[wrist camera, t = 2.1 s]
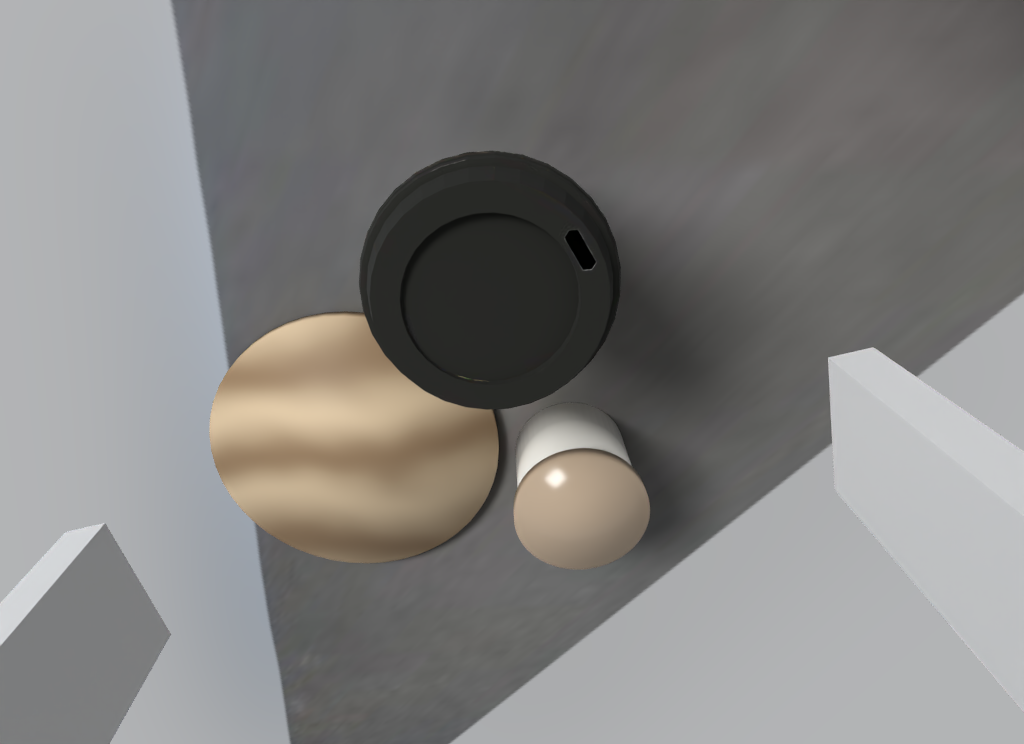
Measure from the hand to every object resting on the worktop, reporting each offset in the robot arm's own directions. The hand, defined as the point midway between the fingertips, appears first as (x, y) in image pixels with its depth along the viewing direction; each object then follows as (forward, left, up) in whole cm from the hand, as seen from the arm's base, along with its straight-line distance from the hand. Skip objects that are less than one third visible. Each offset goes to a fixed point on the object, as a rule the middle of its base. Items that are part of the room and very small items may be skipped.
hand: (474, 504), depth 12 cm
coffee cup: (+1, 0, -28) cm, 28 cm away
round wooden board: (+13, -12, -27) cm, 32 cm away
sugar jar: (+16, +1, -28) cm, 32 cm away
